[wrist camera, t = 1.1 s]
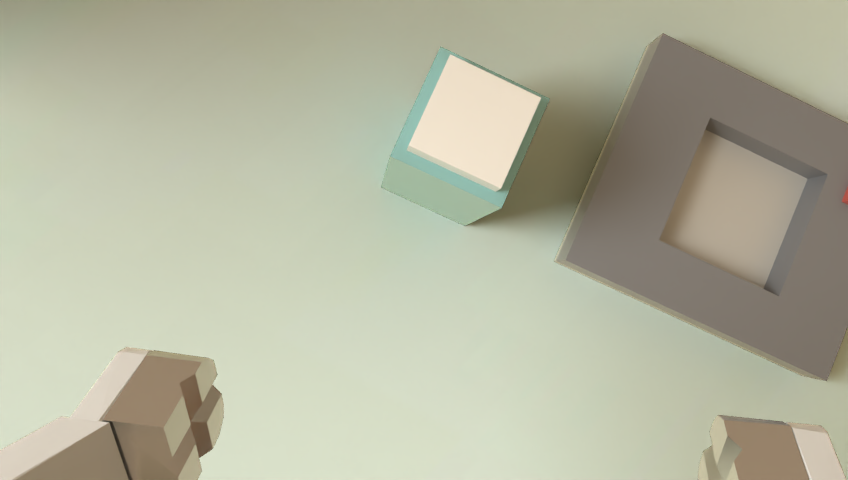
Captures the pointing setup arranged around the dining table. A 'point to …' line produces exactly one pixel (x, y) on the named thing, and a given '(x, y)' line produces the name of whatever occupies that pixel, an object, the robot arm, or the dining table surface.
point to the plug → (463, 140)
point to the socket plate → (722, 209)
